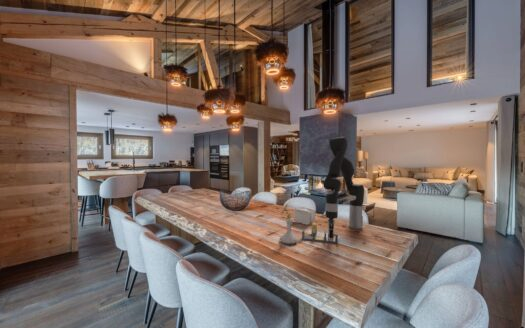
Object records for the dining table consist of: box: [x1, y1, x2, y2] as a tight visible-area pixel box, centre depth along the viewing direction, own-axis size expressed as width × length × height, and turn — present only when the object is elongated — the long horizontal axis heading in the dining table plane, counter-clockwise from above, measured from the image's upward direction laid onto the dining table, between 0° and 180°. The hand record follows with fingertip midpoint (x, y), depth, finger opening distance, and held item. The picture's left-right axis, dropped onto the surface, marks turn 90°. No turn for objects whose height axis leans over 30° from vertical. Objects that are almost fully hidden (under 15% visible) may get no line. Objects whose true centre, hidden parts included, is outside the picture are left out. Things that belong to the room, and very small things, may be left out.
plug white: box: [327, 227, 335, 240], centre depth 146 cm, size 4×4×7 cm
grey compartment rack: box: [301, 228, 339, 245], centre depth 148 cm, size 22×6×6 cm, turn 75°
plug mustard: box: [311, 222, 318, 236], centre depth 160 cm, size 4×4×7 cm
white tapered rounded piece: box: [279, 203, 299, 245], centre depth 143 cm, size 13×11×25 cm
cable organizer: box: [293, 206, 316, 226], centre depth 186 cm, size 15×11×12 cm
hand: (330, 236), depth 146 cm, fingers open, 4 cm apart
